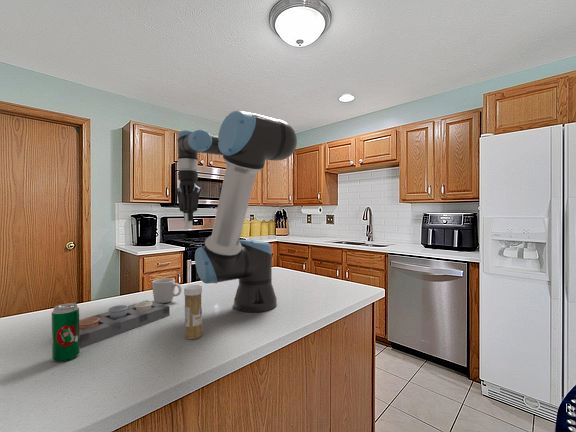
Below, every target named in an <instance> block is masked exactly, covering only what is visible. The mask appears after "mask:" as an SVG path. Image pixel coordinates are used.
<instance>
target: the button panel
mask: <svg viewBox="0 0 576 432" xmlns="http://www.w3.org/2000/svg"><path fill="white" fill-rule="evenodd" d="M142 302H152V306H151V308H150V309H147V310H144V311H137V310H136V308H135V304H137V303H138V302H137V303H134V304H133V303H132V304H130V305H127V306H128V309H127V316H125V317H122V318H119V319H116V320H113V319H110V312H109V311H108V310H107V311H106V312H101V313H98V314H94V315H91V316H89V317H87V318H90V317H98V318H100V321H99V322H98V325H97V326H94V327H91V328H88V329H85V330H81V329H79V330H80V349H81V348H83V347H86V346H89V345H92V344H95V343H97V342H100V341H103V340H105V339H108V338H111V337H115V336H116V335H120V334H123V333H126V332H128V331H130V330H133V329H136V328H139V327H141V326H144V325H146V324H147V325H148V324H149V323H153V322H155V321H158V320H160V319H164V318H167V317H169V316H170V306H169V305H167V304H166V305H165V304H164V303H156V302H155V301H150V300H144V301H142ZM85 318H86V317H85ZM85 318H81V319H80V320H82V319H85Z"/></svg>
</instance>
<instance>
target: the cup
mask: <svg viewBox="0 0 576 432" xmlns="http://www.w3.org/2000/svg"><path fill="white" fill-rule="evenodd" d="M151 286H152V294H153V300H154V301H153V302H155V303H159V304H166V303H170V302H172V301H173V300H174V297H178V296H180V295H181V294H182V291H183V290H182V286H181V284H180V283H177V282H176V279H175V278H173V277H163V278H156V279H154V280H152V281H151ZM176 287H177V288H178V292H175V290H176Z"/></svg>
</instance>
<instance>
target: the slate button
mask: <svg viewBox="0 0 576 432" xmlns="http://www.w3.org/2000/svg"><path fill="white" fill-rule="evenodd" d="M128 306H129V305H126V304H125V305H124V304H121V305H115V306H111V307H109V308H108V309H107V312H108V311H109V312H110V319H113V320H116V319H119V318H122V317H125V316H127V309H128Z"/></svg>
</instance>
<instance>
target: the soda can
mask: <svg viewBox="0 0 576 432" xmlns="http://www.w3.org/2000/svg"><path fill="white" fill-rule="evenodd" d="M79 320H80V307H79V306H78V303H74V302H70V303H62V304H59V305H56V306H54V307H53V310H52V312H51V348H52V349H51V350H52V351H51V354H52V355H51V356H52V357H51V358H52V360H53V361H54V362H56V363H64V362H67V361H71V360H74V359H75V358H76V357H78V356H79V355H80V353H81V348H80V330H79Z"/></svg>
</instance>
